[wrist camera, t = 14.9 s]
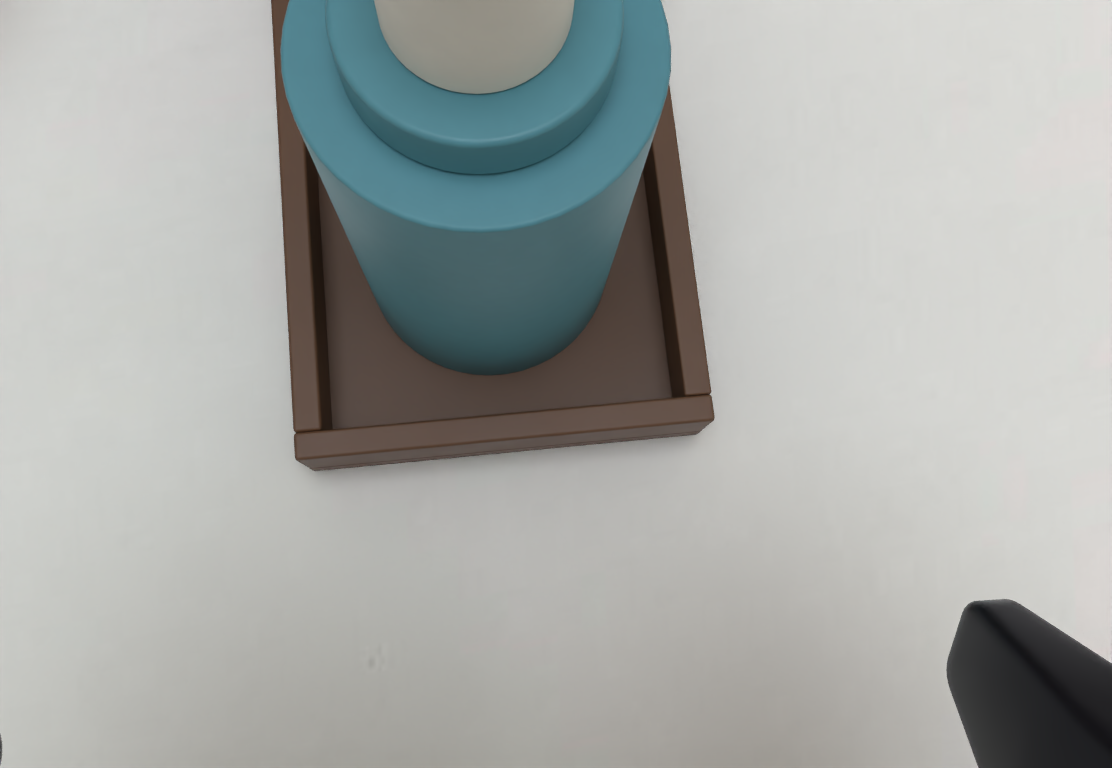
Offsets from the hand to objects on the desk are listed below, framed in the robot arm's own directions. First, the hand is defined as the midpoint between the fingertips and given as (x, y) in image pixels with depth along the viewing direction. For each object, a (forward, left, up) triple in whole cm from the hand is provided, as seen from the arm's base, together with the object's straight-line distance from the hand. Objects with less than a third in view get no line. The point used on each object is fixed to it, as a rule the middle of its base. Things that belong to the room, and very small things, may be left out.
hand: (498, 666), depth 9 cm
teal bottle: (+7, -5, -13) cm, 15 cm away
